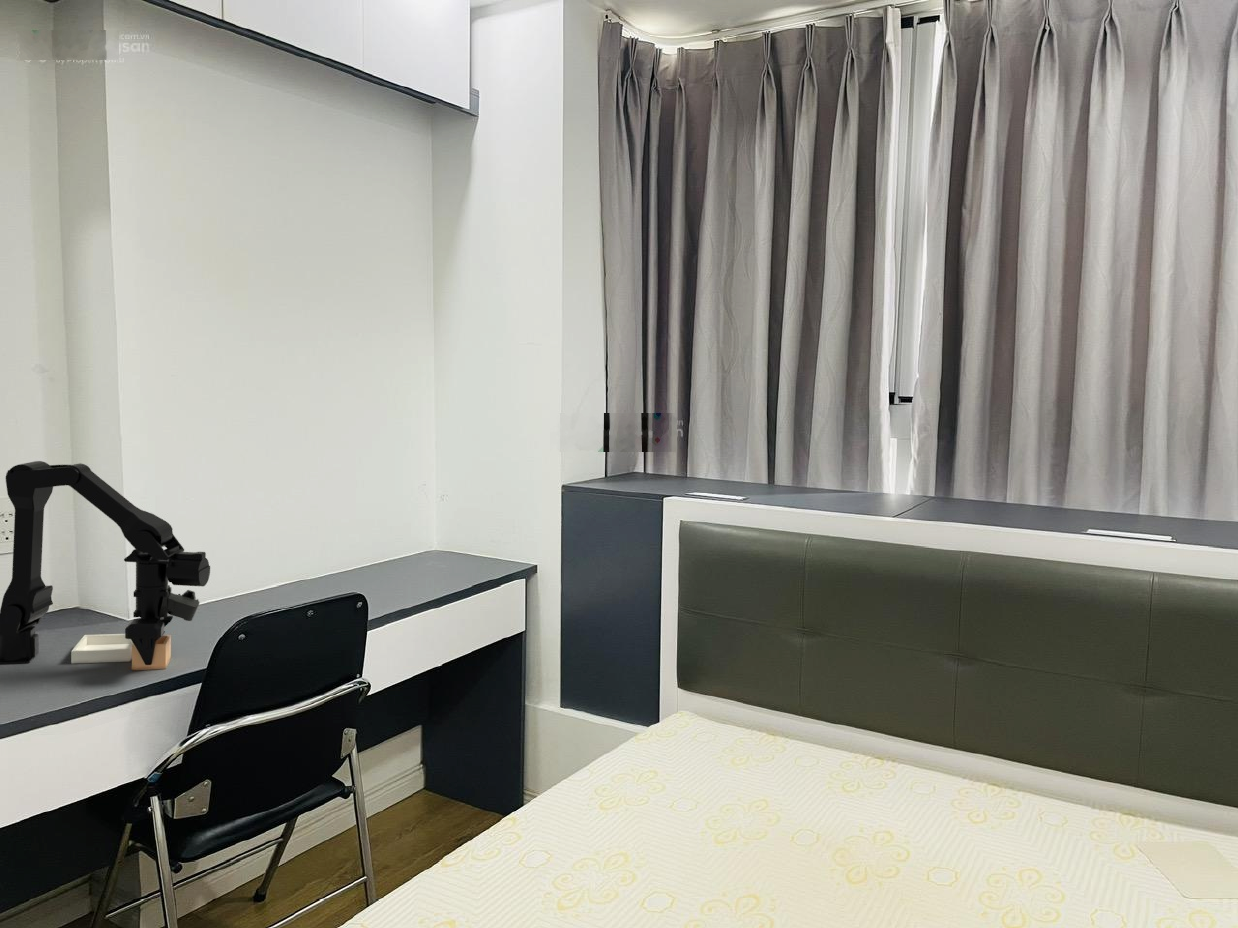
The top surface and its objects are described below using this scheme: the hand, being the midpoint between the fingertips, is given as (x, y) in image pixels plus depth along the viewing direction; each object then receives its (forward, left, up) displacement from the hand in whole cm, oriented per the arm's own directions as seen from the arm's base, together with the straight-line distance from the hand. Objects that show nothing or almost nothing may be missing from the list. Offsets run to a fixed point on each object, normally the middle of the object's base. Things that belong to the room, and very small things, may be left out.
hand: (151, 659), depth 180 cm
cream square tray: (-9, +8, -1) cm, 12 cm away
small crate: (0, 0, -1) cm, 1 cm away
